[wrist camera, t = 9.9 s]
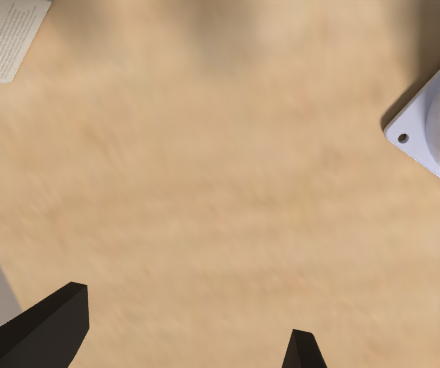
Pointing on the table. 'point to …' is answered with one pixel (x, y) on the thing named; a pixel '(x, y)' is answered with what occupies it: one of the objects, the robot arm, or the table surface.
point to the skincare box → (18, 32)
